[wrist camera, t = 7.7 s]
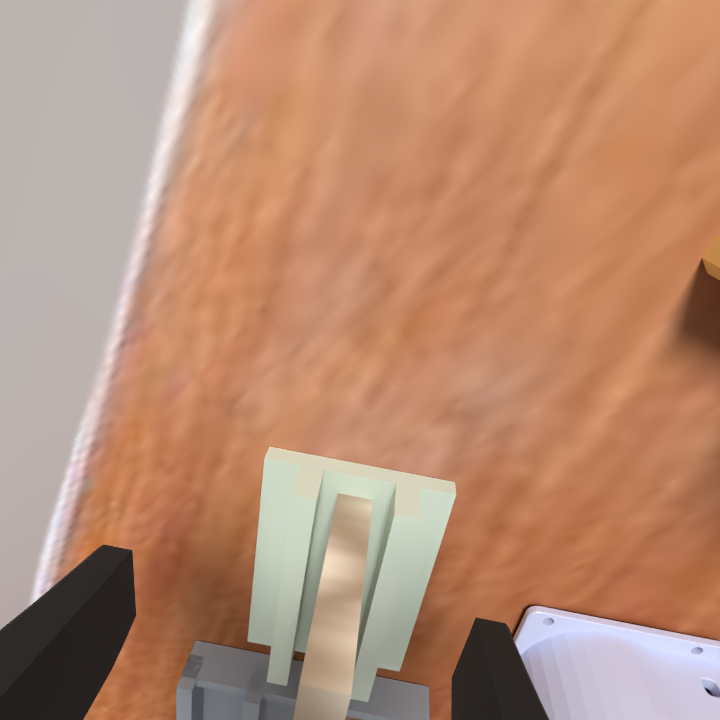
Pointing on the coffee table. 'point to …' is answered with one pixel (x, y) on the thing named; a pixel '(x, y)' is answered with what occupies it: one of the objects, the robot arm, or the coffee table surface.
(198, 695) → the tray
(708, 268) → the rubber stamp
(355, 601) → the birch sheet
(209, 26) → the coffee table surface
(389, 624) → the stand
